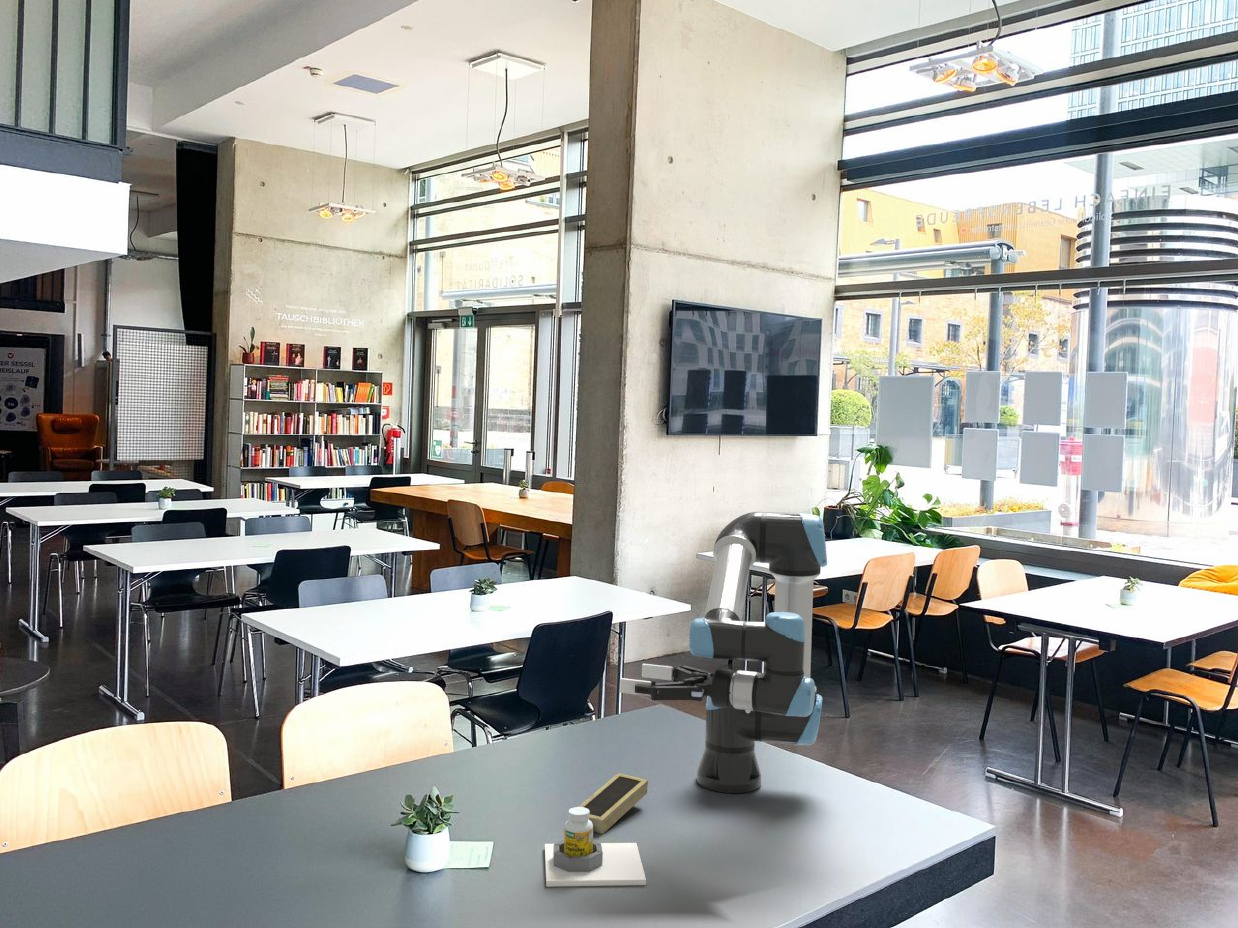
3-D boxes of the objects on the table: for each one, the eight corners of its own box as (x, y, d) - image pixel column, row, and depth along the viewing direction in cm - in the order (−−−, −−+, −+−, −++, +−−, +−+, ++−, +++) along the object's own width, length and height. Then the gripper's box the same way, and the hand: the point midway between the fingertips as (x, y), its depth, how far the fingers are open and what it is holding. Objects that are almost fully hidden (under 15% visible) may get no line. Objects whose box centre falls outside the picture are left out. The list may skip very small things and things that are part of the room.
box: (650, 799, 216) (649, 778, 215) (597, 852, 197) (595, 829, 196) (618, 792, 220) (616, 771, 220) (563, 843, 201) (560, 820, 201)
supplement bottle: (596, 856, 187) (597, 807, 186) (587, 868, 182) (588, 817, 181) (569, 852, 188) (570, 803, 188) (559, 864, 183) (561, 814, 183)
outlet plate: (636, 847, 194) (636, 830, 194) (645, 884, 178) (646, 865, 178) (544, 848, 192) (545, 831, 192) (546, 886, 176) (546, 867, 176)
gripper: (718, 725, 182) (610, 711, 189) (747, 692, 205) (650, 681, 212) (719, 684, 181) (611, 672, 188) (748, 657, 205) (651, 647, 212)
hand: (631, 677), depth 200 cm, fingers open, 13 cm apart
